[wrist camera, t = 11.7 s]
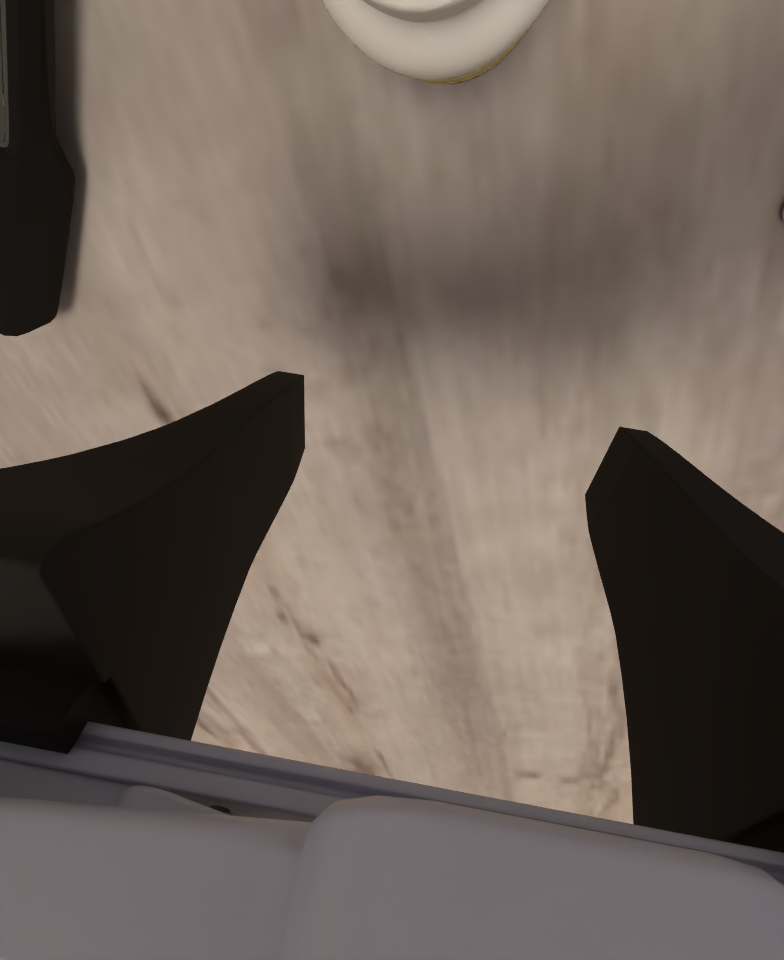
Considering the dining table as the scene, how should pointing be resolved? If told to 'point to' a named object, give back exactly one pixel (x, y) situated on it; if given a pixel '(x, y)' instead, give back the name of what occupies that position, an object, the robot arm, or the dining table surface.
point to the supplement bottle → (435, 33)
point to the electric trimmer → (30, 170)
